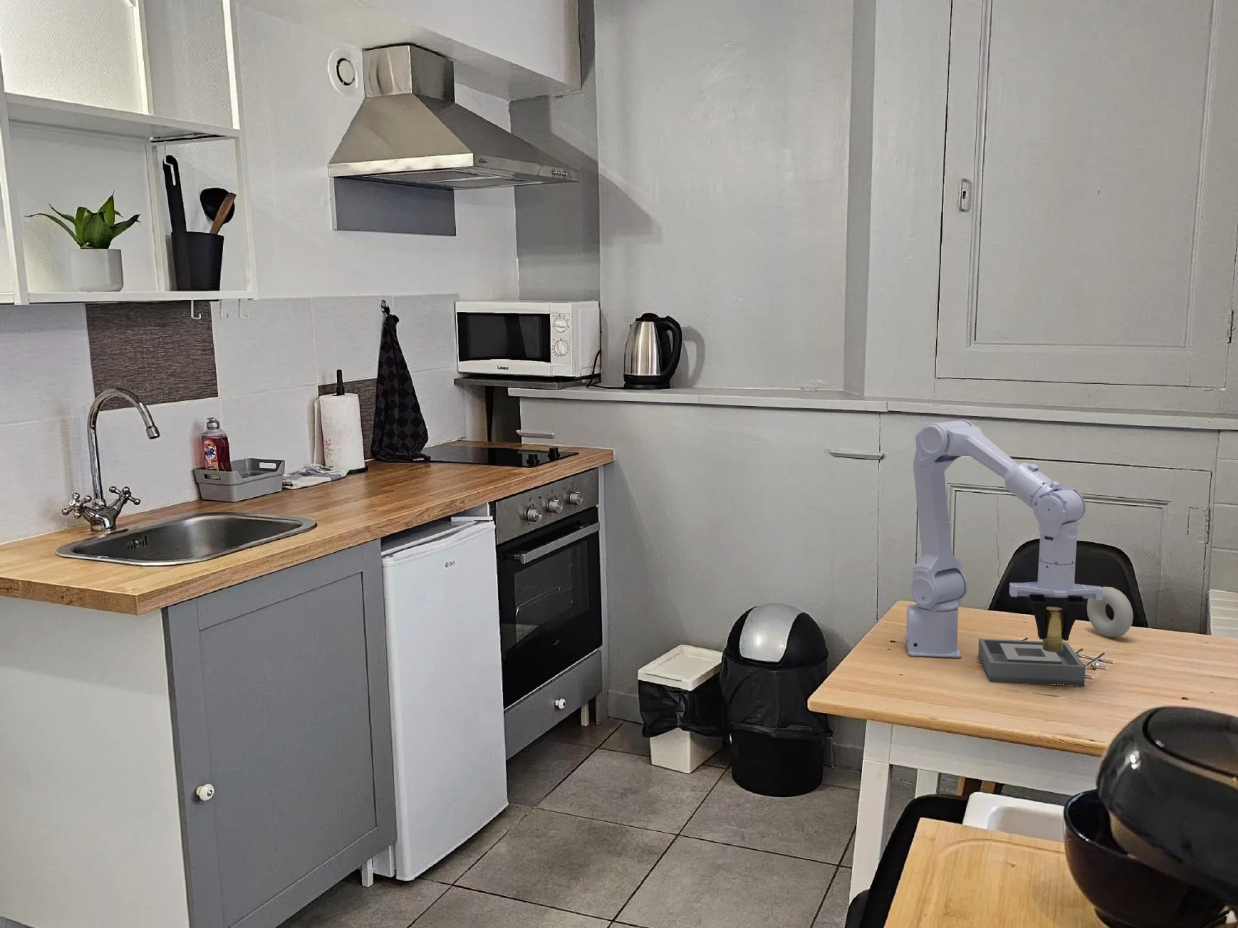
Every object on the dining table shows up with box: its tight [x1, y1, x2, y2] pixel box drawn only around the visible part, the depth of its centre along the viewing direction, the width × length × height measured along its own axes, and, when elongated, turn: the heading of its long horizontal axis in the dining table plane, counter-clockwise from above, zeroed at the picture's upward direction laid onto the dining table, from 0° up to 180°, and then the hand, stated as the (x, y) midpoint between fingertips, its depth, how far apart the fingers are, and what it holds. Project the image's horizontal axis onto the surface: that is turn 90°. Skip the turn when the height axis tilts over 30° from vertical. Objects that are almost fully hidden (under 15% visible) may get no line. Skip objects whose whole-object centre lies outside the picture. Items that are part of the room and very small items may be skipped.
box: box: [977, 638, 1086, 687], centre depth 190 cm, size 16×14×4 cm
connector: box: [1042, 606, 1065, 652], centre depth 180 cm, size 3×3×7 cm
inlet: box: [999, 643, 1062, 664], centre depth 190 cm, size 9×9×2 cm
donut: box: [1086, 586, 1134, 638], centre depth 208 cm, size 10×4×10 cm, turn 23°
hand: (1052, 638), depth 180 cm, fingers closed on connector, 3 cm apart
